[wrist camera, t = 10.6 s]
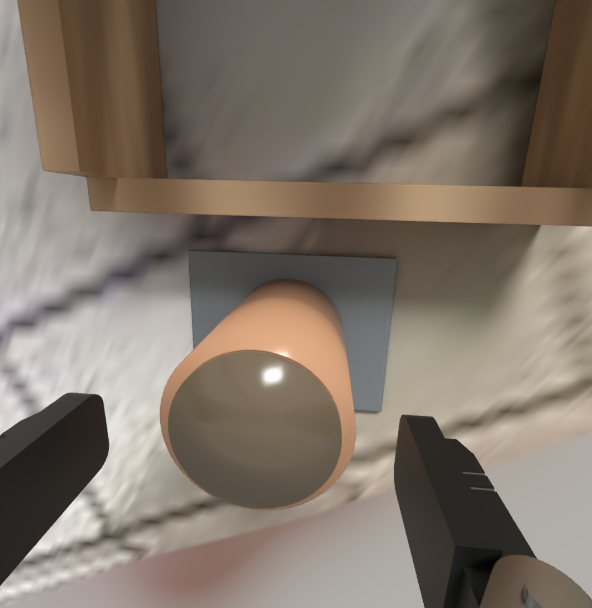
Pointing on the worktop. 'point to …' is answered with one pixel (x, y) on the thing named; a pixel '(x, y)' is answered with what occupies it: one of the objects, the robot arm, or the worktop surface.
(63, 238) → the worktop surface
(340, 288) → the mat
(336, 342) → the tan cylinder
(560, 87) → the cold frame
